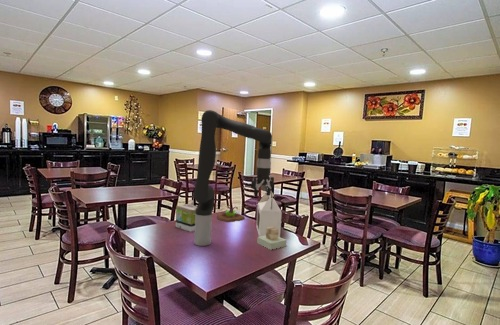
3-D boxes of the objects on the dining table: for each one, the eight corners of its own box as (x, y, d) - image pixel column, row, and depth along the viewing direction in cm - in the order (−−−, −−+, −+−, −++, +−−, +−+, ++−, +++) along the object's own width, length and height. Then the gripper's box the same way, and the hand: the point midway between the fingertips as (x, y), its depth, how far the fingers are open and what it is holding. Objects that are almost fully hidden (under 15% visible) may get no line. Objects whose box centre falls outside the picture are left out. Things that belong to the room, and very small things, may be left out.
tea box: (174, 227, 192) (175, 205, 191) (186, 224, 200) (187, 203, 199) (190, 232, 184) (191, 209, 183) (201, 229, 192) (202, 207, 191)
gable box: (280, 238, 181) (282, 194, 179) (259, 238, 180) (261, 193, 178) (274, 228, 203) (277, 188, 201) (256, 227, 202) (258, 187, 200)
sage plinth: (257, 243, 170) (257, 237, 170) (272, 240, 177) (272, 233, 177) (270, 250, 160) (270, 243, 160) (286, 246, 167) (286, 239, 167)
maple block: (265, 237, 169) (266, 227, 168) (272, 236, 172) (272, 226, 171) (271, 240, 165) (272, 230, 164) (277, 239, 168) (278, 229, 167)
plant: (212, 217, 222) (212, 203, 222) (232, 214, 235) (233, 200, 234) (226, 224, 207) (227, 208, 206) (248, 220, 220) (248, 206, 219)
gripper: (269, 166, 166) (267, 193, 167) (249, 166, 157) (247, 195, 158) (278, 167, 160) (276, 196, 161) (257, 167, 151) (256, 198, 152)
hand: (262, 195), depth 160 cm, fingers open, 8 cm apart
